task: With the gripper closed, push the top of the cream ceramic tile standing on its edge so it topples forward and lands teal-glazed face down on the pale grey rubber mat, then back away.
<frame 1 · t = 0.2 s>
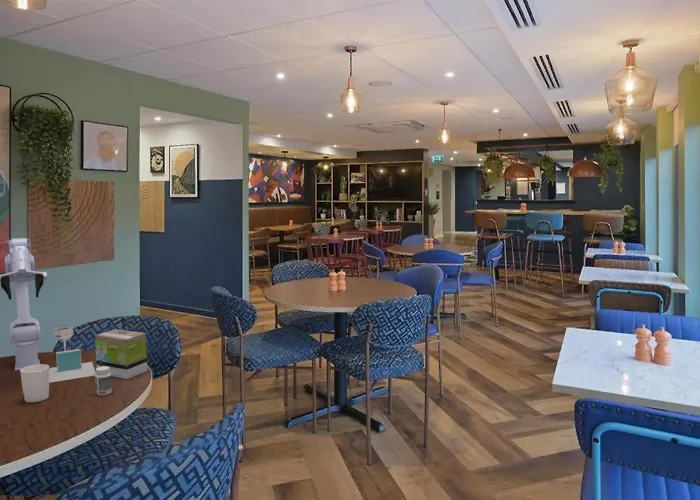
hand: (23, 296, 176), 31 cm above the table, tool tilted 45°, fingers open, 7 cm apart
wineglass: (65, 357, 214), on the table
white cup: (36, 399, 169), on the table
tea box: (122, 373, 194), on the table
mat: (70, 372, 194), on the table
tile: (69, 369, 197), resting on mat
pill bottle: (104, 393, 174), on the table
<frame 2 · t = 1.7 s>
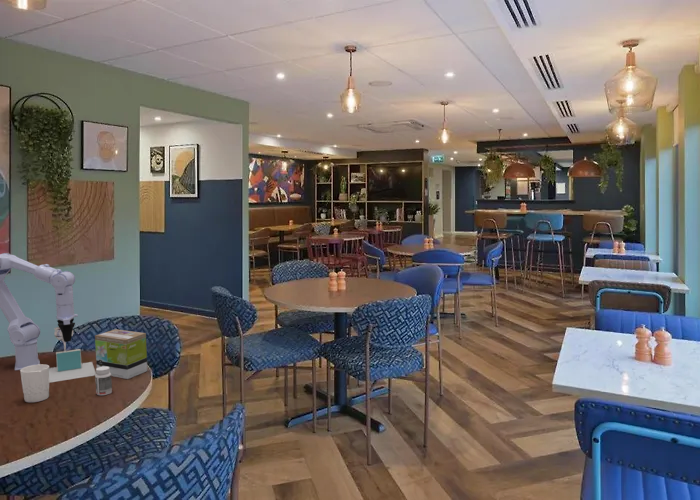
hand: (67, 339, 200), 10 cm above the table, tool pointing down, fingers open, 5 cm apart
nothing on the table moved.
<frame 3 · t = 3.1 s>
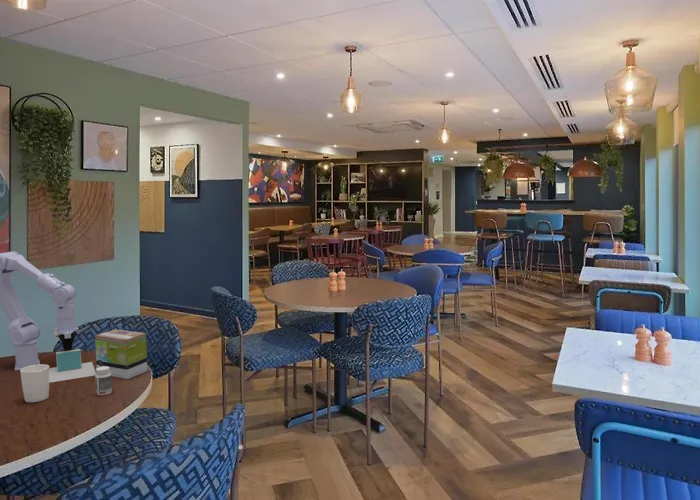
hand: (68, 352, 200), 5 cm above the table, tool pointing down, fingers closed
nothing on the table moved.
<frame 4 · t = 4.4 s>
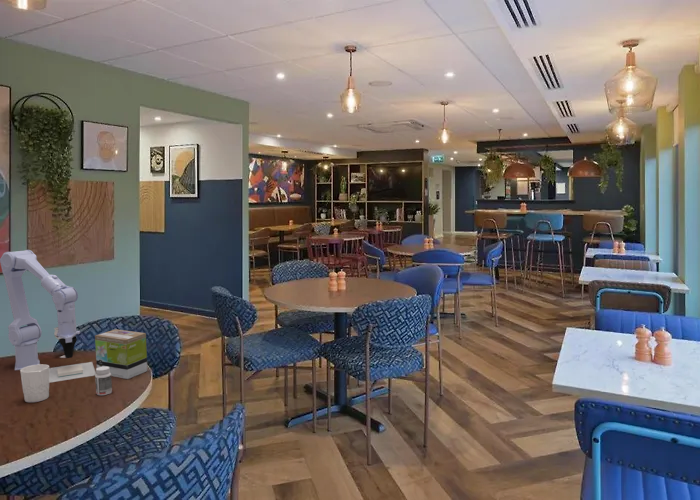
hand: (69, 357, 195), 5 cm above the table, tool pointing down, fingers closed
tile: (69, 368, 196), point 1 cm above the table, tilted 90°, touching mat
everything else where it was.
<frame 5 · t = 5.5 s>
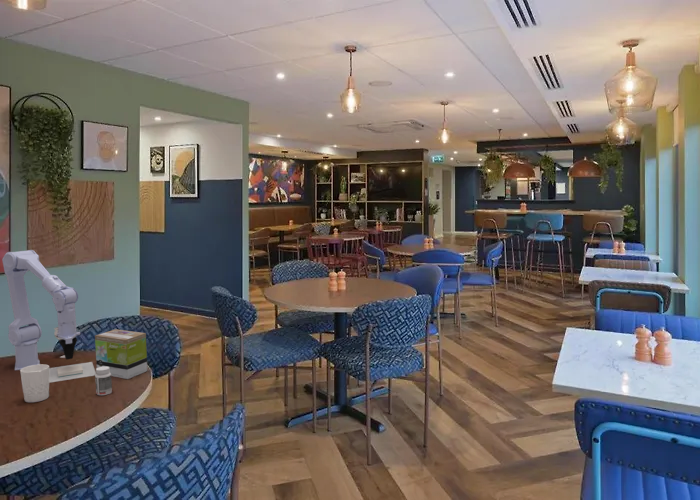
hand: (69, 358, 193), 5 cm above the table, tool pointing down, fingers closed
nothing on the table moved.
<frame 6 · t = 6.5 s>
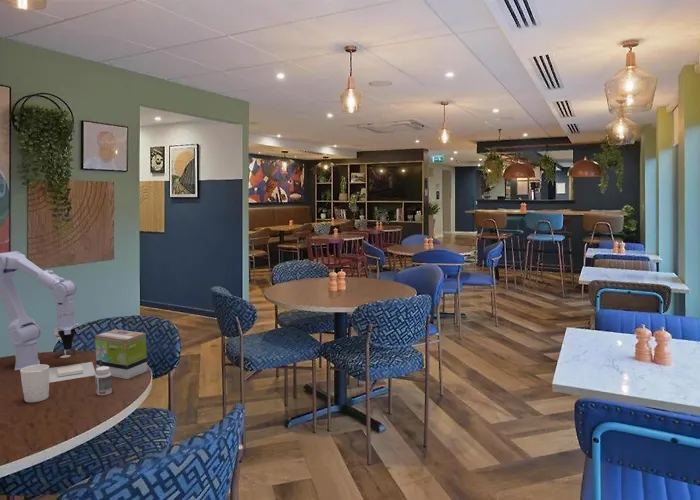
hand: (67, 349, 199), 7 cm above the table, tool pointing down, fingers closed
nothing on the table moved.
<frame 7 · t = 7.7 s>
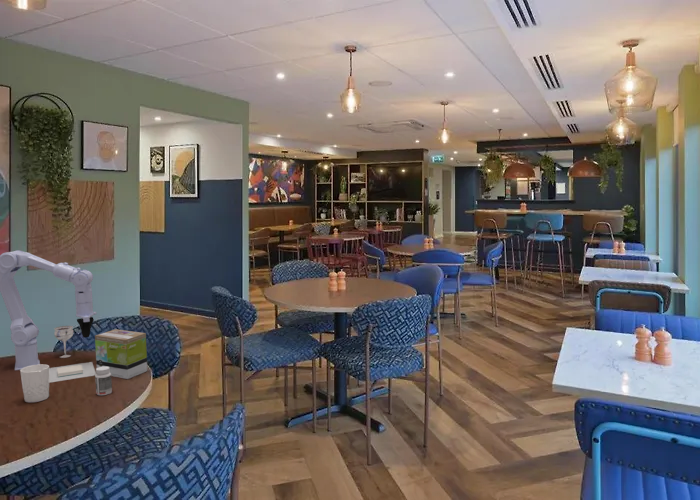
hand: (86, 336, 204), 10 cm above the table, tool pointing down, fingers closed
nothing on the table moved.
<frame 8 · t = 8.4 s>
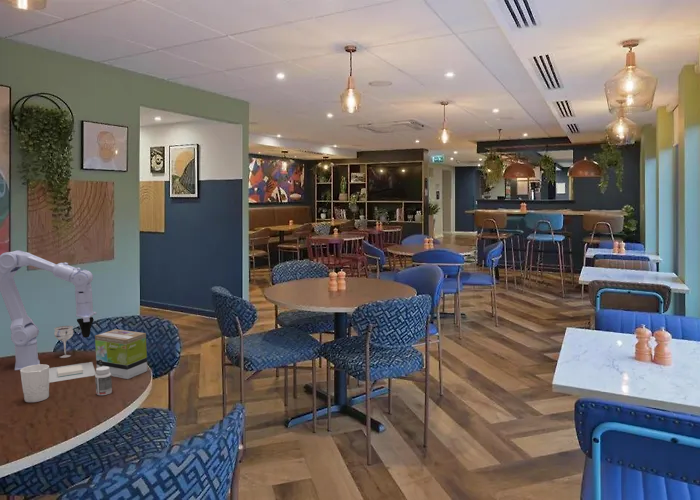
hand: (86, 336, 204), 10 cm above the table, tool pointing down, fingers closed
nothing on the table moved.
at the end: tile tilted 90°; tile inside the target area (3.3 cm from its centre), point 1.0 cm above the table; the gripper is holding nothing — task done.
